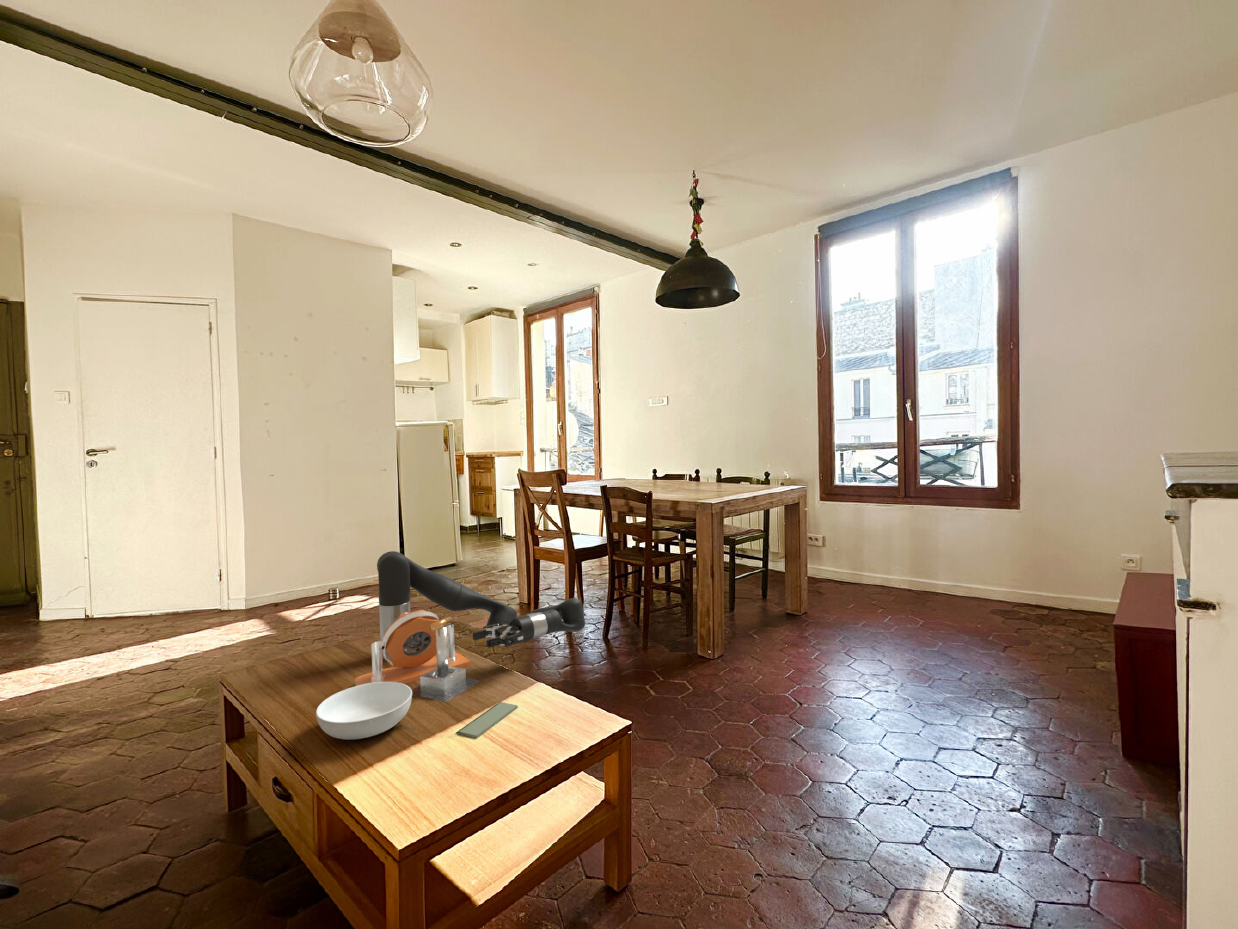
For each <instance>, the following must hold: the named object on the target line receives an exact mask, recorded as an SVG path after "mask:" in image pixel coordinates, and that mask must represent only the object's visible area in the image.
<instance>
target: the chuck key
mask: <svg viewBox="0 0 1238 929" xmlns="http://www.w3.org/2000/svg"><path fill="white" fill-rule="evenodd" d="M453 620H454V619H453V618H452V616H446V617H443V618H441V620H438V621H437V622H434V623H432V624H430V625H429V630H430V631H435V632H436V655H435V656H437V675H436V677H441V678H445V677H447V676H448V675H450V673H449V666H448V642H447V626H448V625H451V624H452V623H453Z"/></svg>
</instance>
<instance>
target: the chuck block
mask: <svg viewBox="0 0 1238 929" xmlns="http://www.w3.org/2000/svg"><path fill="white" fill-rule="evenodd" d="M449 673H450V675H448V676H447V677H445V678H441V677H436V675H437V668H435V669H433V670H431V671H429V672H427V673H425V674H423V675H421V676H420V680H419V681H420V685H418V686H416V687H414V688H412V689H411V690H412V696H415V697H420V698H423V699H430V700H433V701H438V702H442V703H447V702H448V701H450V700H452V699H454V698H455V697H457V696H458V695H460V694H461V693H463V692H465V691H467V690H468V689H470V688H472V687H473V686H474V685H476V684H478V683H479V682H481V680H478V679H474V678H469V677H467V675H466V674H467V672H466V668H464V667H463V668H458V667H452V666H449Z"/></svg>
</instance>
